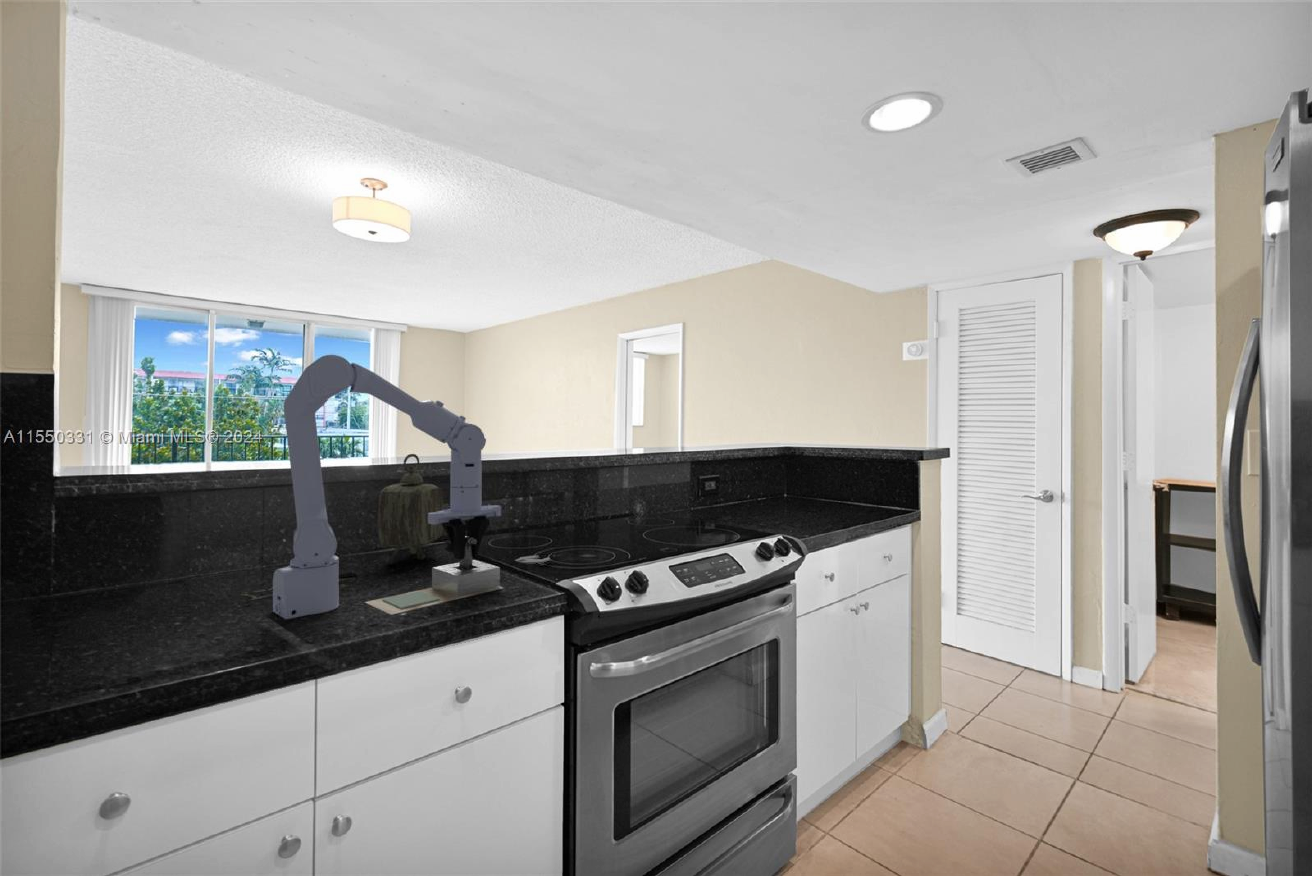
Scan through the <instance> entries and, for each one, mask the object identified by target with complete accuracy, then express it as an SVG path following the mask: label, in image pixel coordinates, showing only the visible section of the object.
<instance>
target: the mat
mask: <svg viewBox="0 0 1312 876" xmlns="http://www.w3.org/2000/svg"><path fill="white" fill-rule="evenodd" d="M417 591H418V592H414V591H412V592H413V593H409V592H408V593H409V594H405V593H403V594H404V595H400V594H398V595H399V596H395V595H394V596H395V597H391V596H389V597H390V598H386V597H385V598H386V599H382V601H384V602H386V603H388V604H391V605H393V606H395V607H397V608H400V609H405V608H409V607H413V606H418V605H422V604H426V603H430V602H435V601H439V598H436V597H434V596H431V595H429V594H426V593H424V592H421V591H419V590H417Z"/></svg>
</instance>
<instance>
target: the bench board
mask: <svg viewBox="0 0 1312 876" xmlns="http://www.w3.org/2000/svg"><path fill="white" fill-rule="evenodd" d="M502 589H503V587H502V586H500V588H497V589H493V590H489V591H485V592H480V593H476V594H472V595H468V596H464V597H459V598H457V597H454V596H451V595H448V594H446V593H443V592H440V591H438V590H435V589H432V587H428V588H424V589H420V590H419V589H418V590H416V591H415V590H414V591H410V592H405V593H400V594H395V595H391V596H386V597H383V598H377V599H373V600H368V601H364V603H365V604H367V605H368V606H371V607H373V608H376V609H378V610H380V611H382V612H384V613H386V614H388V615H391V616H392V615H393V616H394V615H398V614H401V613H405V612H406V613H407V612H409V611H413V610H417V609H422V608H426V607H430V606H435V605H438V604H439V605H440V604H442V603H446V602H447V603H448V602H450V601H455V600H459V599H464V598H467V597H468V598H469V597H473V596H477V595H481V594H484V593H489V592H493V591H497V590H502ZM418 591H421V592H424V593H426V594H429V595H431V596H434V597H436V598H439V601H435V602H430V603H426V604H422V605H418V606H413V607H409V608H405V609H400V608H397V607H395V606H393V605H391V604H388V603H386V602H384V601H382V599H386V598H390V597H395V596H399V595H404V594H409V593H413V592H418Z"/></svg>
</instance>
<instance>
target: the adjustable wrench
mask: <svg viewBox="0 0 1312 876" xmlns="http://www.w3.org/2000/svg"><path fill="white" fill-rule="evenodd" d="M538 558H539V559H538ZM514 561H516V562H519V563H522V564H525V565H529V564H535V563H544V562H547V561H550V557H545V558H542V559H541V558H540V555H529V556H520V557H519V558H517V559H514Z"/></svg>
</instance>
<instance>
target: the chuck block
mask: <svg viewBox="0 0 1312 876" xmlns="http://www.w3.org/2000/svg"><path fill="white" fill-rule="evenodd" d="M500 587H501V567H500V566H496V565H493V564H490V563H487V562H484V561H480V560H478V559H477V560H476V559H472V569H469V570H464V571H462V570H459V562H455V563H448V564H443V565H438V566H433V567H431V588H432V589H435V590H438V591H440V592H443V593H446V594H448V595H451V596H454V597H457V598H459V597H464V596H468V595H472V594H476V593H480V592H485V591H489V590H493V589H497V588H500ZM489 592H490V591H489ZM485 593H486V592H485ZM468 597H469V596H468ZM464 598H465V597H464Z"/></svg>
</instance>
